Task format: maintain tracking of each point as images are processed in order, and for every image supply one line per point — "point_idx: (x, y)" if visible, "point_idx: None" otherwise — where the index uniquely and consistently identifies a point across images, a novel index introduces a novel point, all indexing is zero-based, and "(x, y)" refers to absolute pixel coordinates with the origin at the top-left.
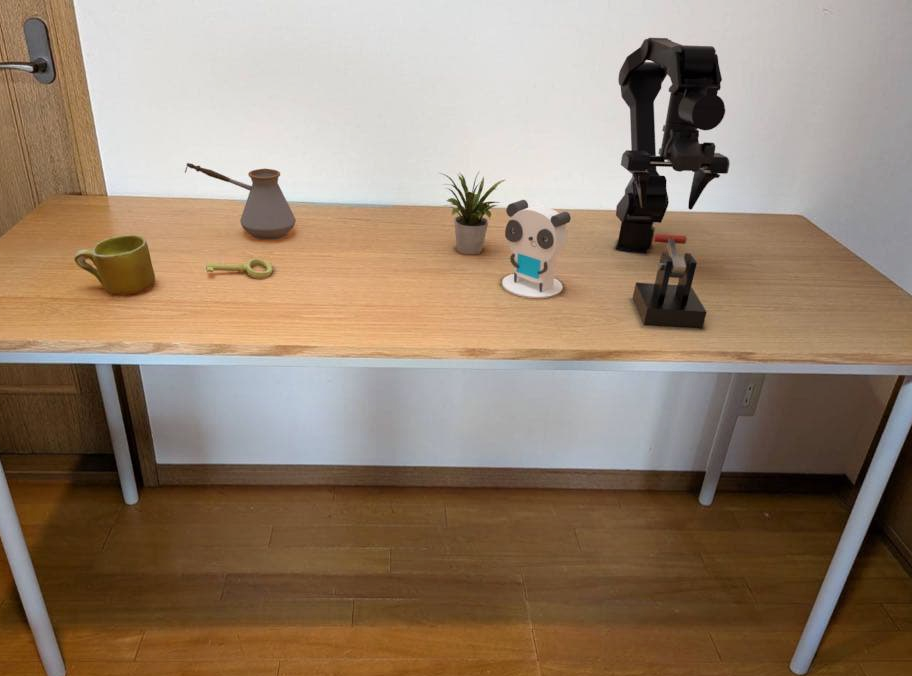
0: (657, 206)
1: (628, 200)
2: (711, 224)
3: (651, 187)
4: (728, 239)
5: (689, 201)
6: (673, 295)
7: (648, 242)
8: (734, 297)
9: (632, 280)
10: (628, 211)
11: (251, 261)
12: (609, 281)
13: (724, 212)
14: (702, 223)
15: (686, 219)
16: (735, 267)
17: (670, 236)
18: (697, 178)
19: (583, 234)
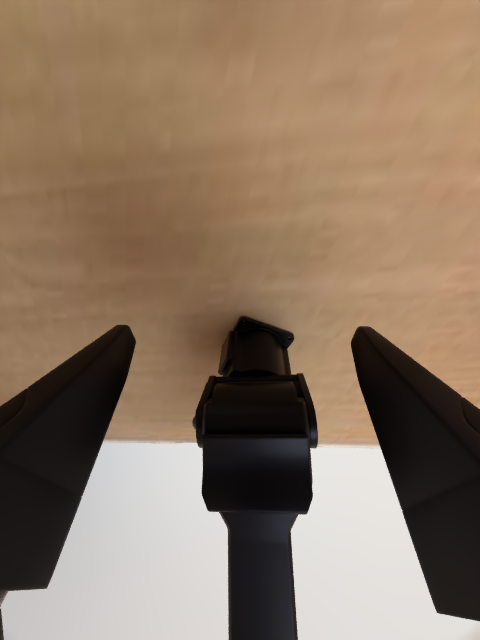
0: (230, 400)
1: (315, 420)
2: (116, 415)
3: (253, 463)
4: None
5: (124, 366)
6: None
7: (234, 340)
8: (21, 17)
9: (325, 154)
10: (303, 392)
11: None
12: (401, 136)
13: None
14: (129, 417)
15: (150, 426)
16: (59, 269)
17: None
18: (22, 511)
19: (325, 384)
